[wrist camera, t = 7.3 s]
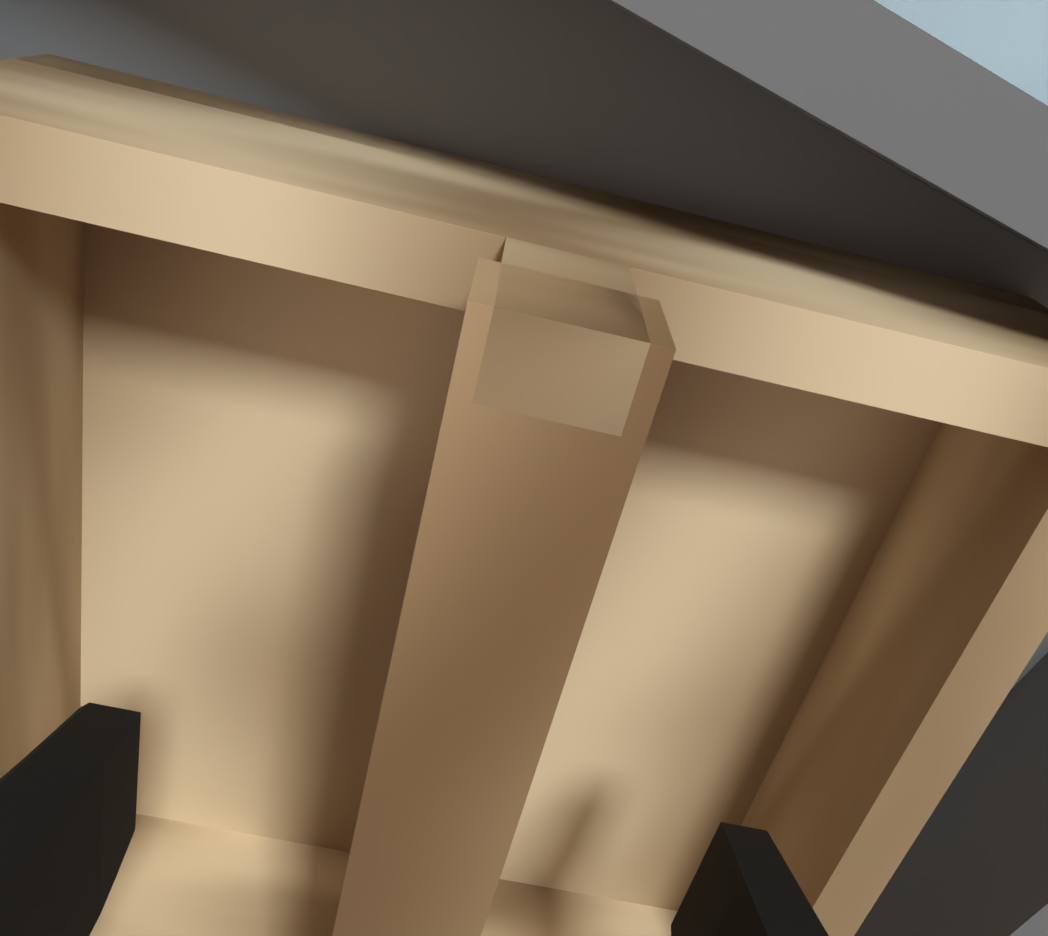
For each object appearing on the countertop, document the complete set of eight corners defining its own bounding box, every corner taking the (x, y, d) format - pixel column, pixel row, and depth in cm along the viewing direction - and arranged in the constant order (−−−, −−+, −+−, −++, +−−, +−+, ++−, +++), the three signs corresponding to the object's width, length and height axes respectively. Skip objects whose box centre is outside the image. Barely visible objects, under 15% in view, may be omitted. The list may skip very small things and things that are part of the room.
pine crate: (1031, 297, 12) (1355, 509, 7) (716, 910, 18) (778, 1254, 13) (48, 52, 11) (-351, 108, 6) (55, 790, 17) (-145, 1118, 12)
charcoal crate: (1365, 347, 13) (1660, 478, 10) (665, 1050, 22) (687, 1255, 18) (-13, -471, 10) (-344, -739, 6) (-207, 765, 18) (-390, 953, 15)
